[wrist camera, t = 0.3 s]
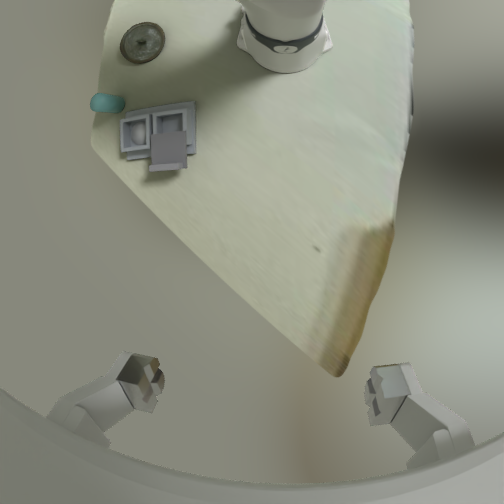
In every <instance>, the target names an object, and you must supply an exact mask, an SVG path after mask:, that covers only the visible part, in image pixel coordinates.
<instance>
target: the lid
mask: <svg viewBox="0 0 504 504" xmlns="http://www.w3.org/2000/svg"><path fill="white" fill-rule="evenodd" d="M164 42H165V35H164V32H163V29H162V28H161V27H160V26H159V25H157V24H155V23H151V22H144V23H139V24H136V25H134V26H132V27H131V28H130V29H129V30H127V32H126V33H125V34H124V36H123V38H122V40H121V43H120V50H121V53H122V55H123V56H124V57H125V58H126V59H127V60H129V61H130V62H133V63H144V62H148V61H151V60H152V59H154V58H155V57H156V56H158V55H159V53H160V52H161V50H162V48H163V46H164Z"/></svg>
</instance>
